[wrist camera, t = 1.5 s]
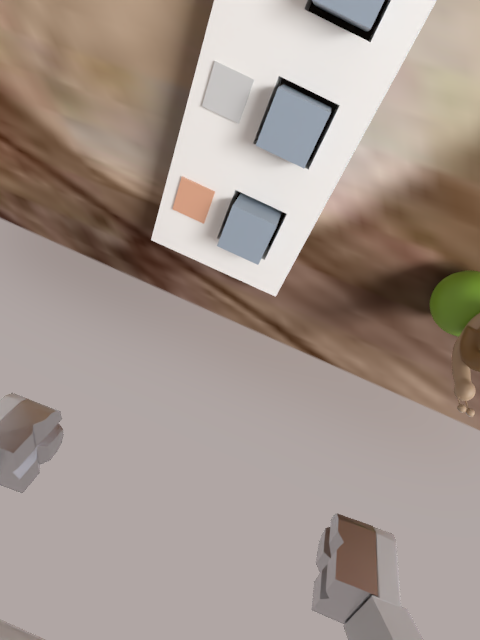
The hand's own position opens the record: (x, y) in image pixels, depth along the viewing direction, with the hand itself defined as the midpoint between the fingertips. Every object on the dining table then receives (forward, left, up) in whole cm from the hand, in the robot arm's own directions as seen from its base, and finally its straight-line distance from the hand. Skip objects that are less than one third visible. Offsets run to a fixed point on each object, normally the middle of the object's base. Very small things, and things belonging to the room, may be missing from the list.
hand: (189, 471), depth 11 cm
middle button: (-6, +1, -24) cm, 25 cm away
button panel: (-6, 0, -26) cm, 27 cm away
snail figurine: (+10, +14, -27) cm, 32 cm away
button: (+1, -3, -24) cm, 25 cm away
